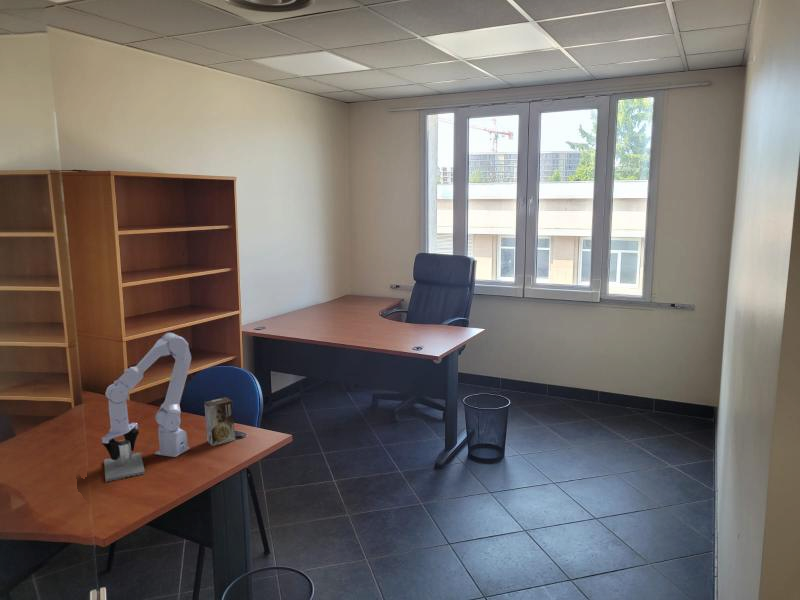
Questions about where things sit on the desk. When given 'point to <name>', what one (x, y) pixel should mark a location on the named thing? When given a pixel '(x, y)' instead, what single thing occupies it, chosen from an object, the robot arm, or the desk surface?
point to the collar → (124, 453)
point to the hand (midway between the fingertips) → (122, 454)
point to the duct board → (123, 468)
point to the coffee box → (219, 421)
